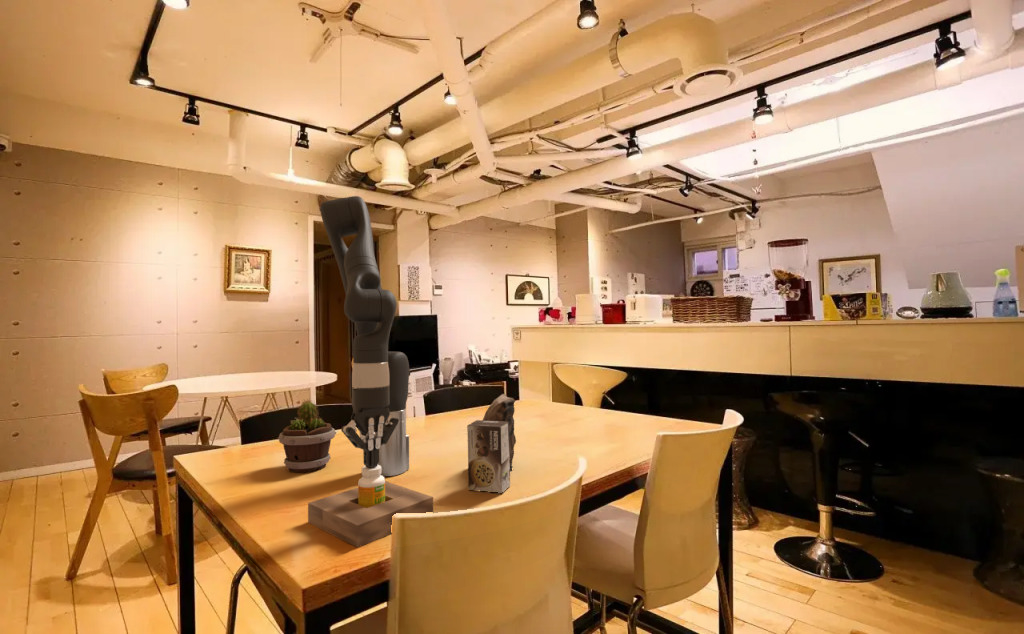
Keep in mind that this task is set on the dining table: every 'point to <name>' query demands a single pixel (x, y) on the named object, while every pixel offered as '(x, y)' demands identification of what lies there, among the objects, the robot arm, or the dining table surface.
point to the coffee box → (488, 456)
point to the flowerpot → (307, 440)
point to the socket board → (365, 513)
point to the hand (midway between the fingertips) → (371, 466)
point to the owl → (503, 418)
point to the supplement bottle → (371, 487)
